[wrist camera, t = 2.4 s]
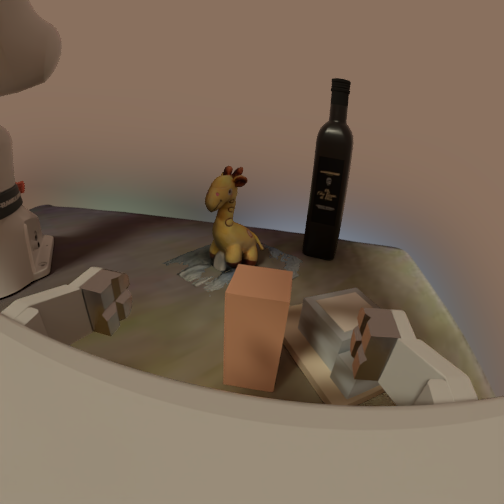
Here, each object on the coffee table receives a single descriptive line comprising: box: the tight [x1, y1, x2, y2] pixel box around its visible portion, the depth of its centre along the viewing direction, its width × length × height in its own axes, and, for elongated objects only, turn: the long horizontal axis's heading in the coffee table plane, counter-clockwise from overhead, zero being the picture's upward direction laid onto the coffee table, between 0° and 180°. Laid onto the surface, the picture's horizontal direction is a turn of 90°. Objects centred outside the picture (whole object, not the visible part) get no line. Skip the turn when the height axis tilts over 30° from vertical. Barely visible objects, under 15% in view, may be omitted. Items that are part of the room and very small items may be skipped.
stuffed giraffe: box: [162, 166, 303, 296], centre depth 43 cm, size 16×18×16 cm
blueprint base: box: [283, 287, 385, 406], centre depth 29 cm, size 15×11×5 cm
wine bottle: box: [302, 78, 353, 260], centre depth 46 cm, size 6×6×30 cm
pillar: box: [223, 264, 293, 392], centre depth 24 cm, size 4×4×10 cm
